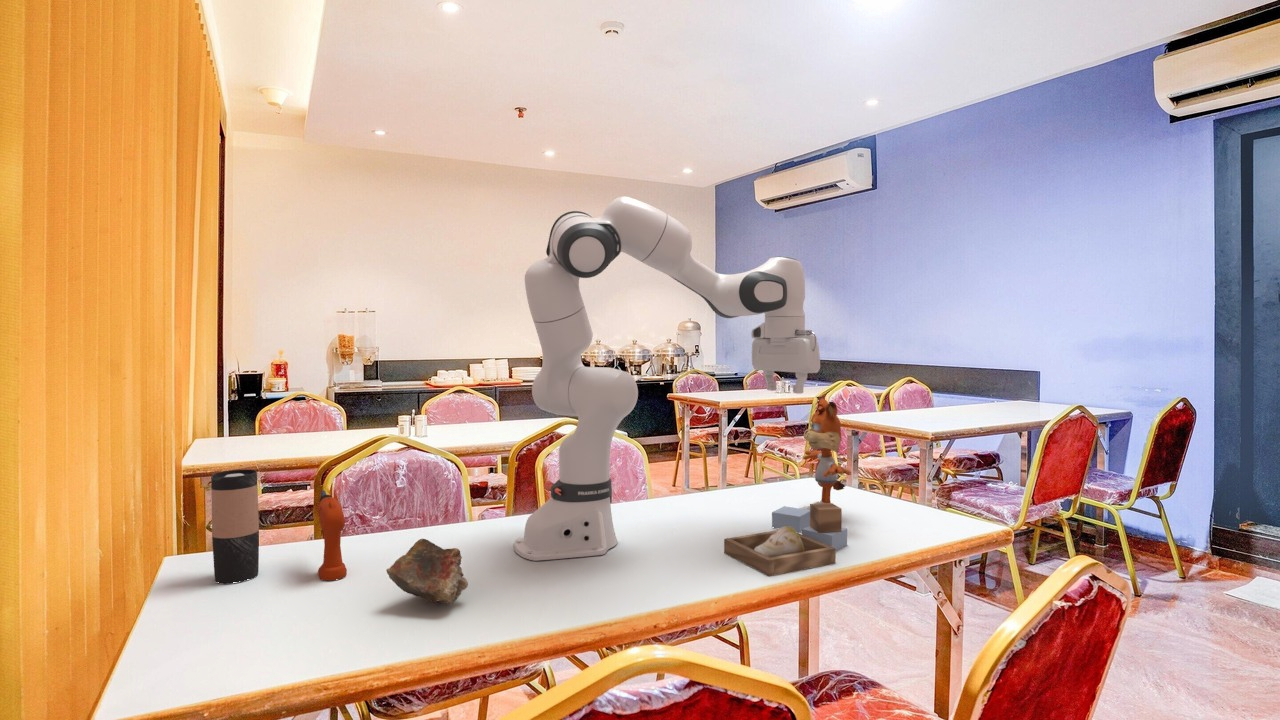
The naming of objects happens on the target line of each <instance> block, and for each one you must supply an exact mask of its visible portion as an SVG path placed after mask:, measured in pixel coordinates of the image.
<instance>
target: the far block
mask: <svg viewBox="0 0 1280 720" xmlns="http://www.w3.org/2000/svg"><path fill="white" fill-rule="evenodd" d="M799 508H800V507H793V506H792V507H790V506H785V505H784V506H782V507H779V508H778V509H776V510H773V511H772V512H771V528H772V527H774V528H773V529H775V528H781V527H784V526H790V527H792V528H793V529H794V530H795V531H796V532H797V533H798V532H800V533H802V532H801V531H802V529H804V528H806V527H809V526H810V510H806V509H799Z"/></svg>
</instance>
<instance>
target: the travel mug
mask: <svg viewBox="0 0 1280 720" xmlns="http://www.w3.org/2000/svg"><path fill="white" fill-rule="evenodd" d="M210 478H211V479H210V480H211V481H210V482H211V483H210V485H211V487H210V488H211V494H210V495H211V539H212V540H211V541H212V556H213V571H214V573H213V574H214V582H215V581H216V582H219V583H233V582H239V581H244V580H247V579H251V578H253V579H255V578H256V577H258V575H259V569H260V568H259V566H260V565H259V561H260V560H259V556H260V555H259V553H260V551H259V550H260V549H259V548H260V547H259V545H260V522H259V521H260V520H259V518H260V517H259V492H258V491H259V490H258V489H259V488H258V471H257V470H255V469H247V468H245V469H233V470H232V469H230V470H224V471H220V472H219V471H218V472H215V473H213V474H212V475H211V476H210ZM255 576H256V577H255ZM254 577H255V578H254ZM251 580H252V579H251ZM216 582H215V583H216ZM219 583H218V584H219Z"/></svg>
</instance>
